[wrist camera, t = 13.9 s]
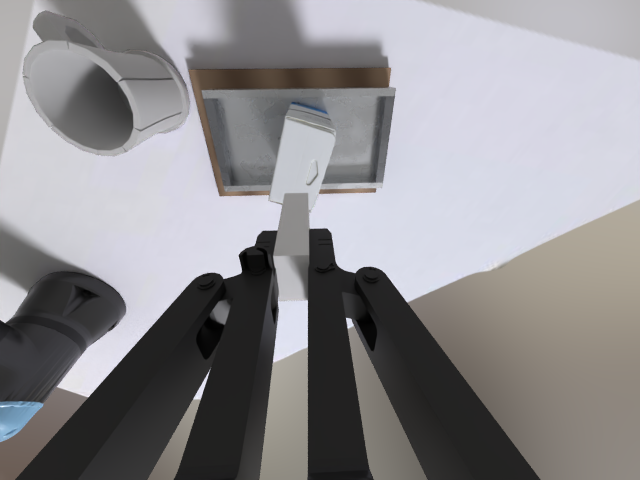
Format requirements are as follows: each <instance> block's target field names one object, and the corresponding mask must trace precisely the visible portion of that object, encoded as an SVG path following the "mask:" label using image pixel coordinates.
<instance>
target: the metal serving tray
mask: <svg viewBox="0 0 640 480" xmlns="http://www.w3.org/2000/svg"><path fill="white" fill-rule="evenodd" d="M201 91H202V96H203V100H204V104H205V109H206V113H207V117H208V122H209V126H210V130H211V134H212V139H213V143H214V147H215V152H216V156H217V160H218V165H219V169H220V173H221V178H222V182H223V186H224V190H225V192H232V191H270V188H271V183H272V178H273V173H274V168H275V163H276V159H277V154H278V149H279V144H280V139H281V134H282V129H283V124H284V119H285V116H286V113H287V111H288V109H289V107H290V105H291V103H292V102H295V103H299V104H302V105H306V106H309V107H313V108H316V109H319V110H323V111H326V112H327V113H328V115H329V117H330V119H331V121H332V123H333V126H334V128H335V130H336V136H335V139H336V140H335V144H334V147H333V150H332V154H331V157H330V160H329V163H328V165H327V168H326V172H325V175H324V178H323V181H322V184H321V187H320V189H358V188H382V186H383V178H384V171H385V164H386V156H387V149H388V142H389V134H390V127H391V120H392V113H393V105H394V98H395V91H396V88H393V87H321V88H232V89H206V90H201Z"/></svg>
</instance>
